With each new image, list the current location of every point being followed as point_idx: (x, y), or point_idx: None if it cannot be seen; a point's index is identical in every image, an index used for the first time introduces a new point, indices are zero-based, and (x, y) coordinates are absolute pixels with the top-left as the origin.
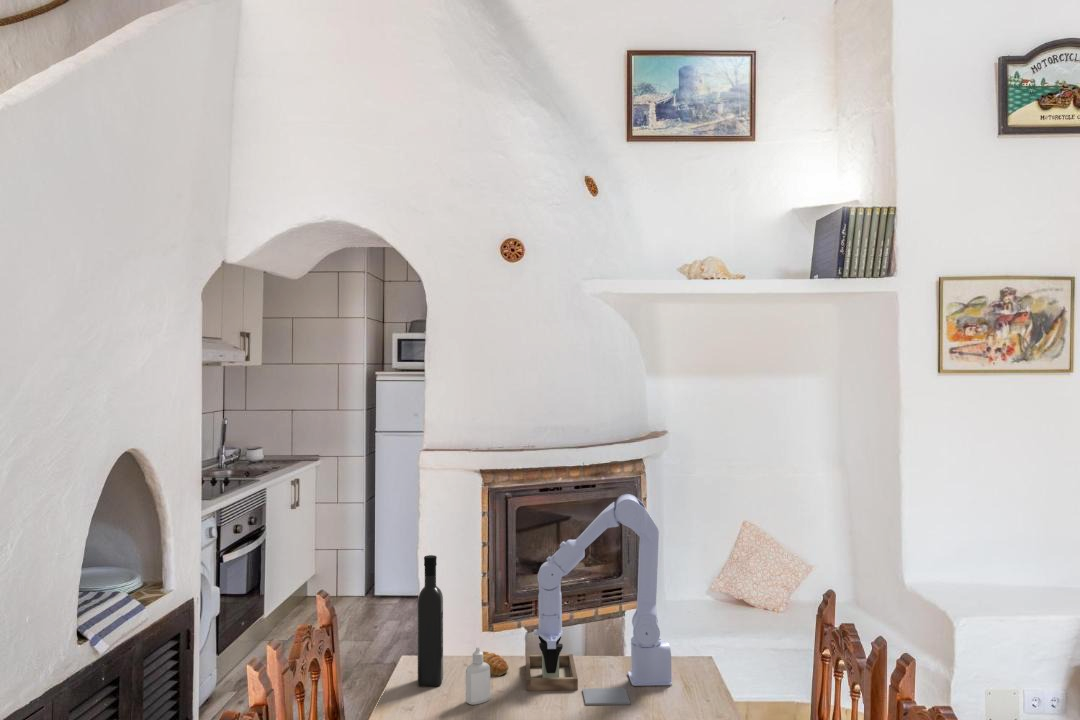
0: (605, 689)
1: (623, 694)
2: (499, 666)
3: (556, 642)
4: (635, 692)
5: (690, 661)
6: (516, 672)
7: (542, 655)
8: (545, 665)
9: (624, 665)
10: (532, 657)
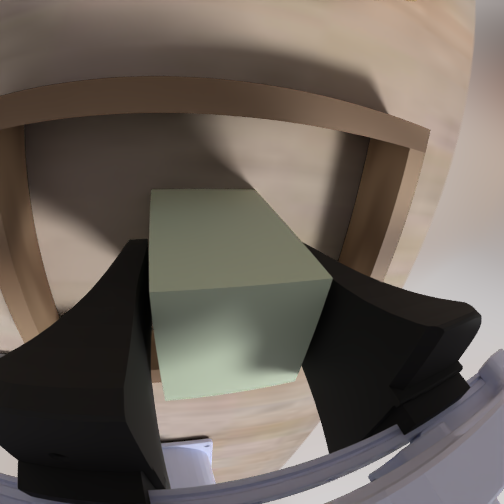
0: None
1: None
2: None
3: (327, 409)
4: None
5: (261, 470)
6: (308, 39)
7: (193, 277)
8: (112, 263)
9: (270, 424)
10: (401, 163)
